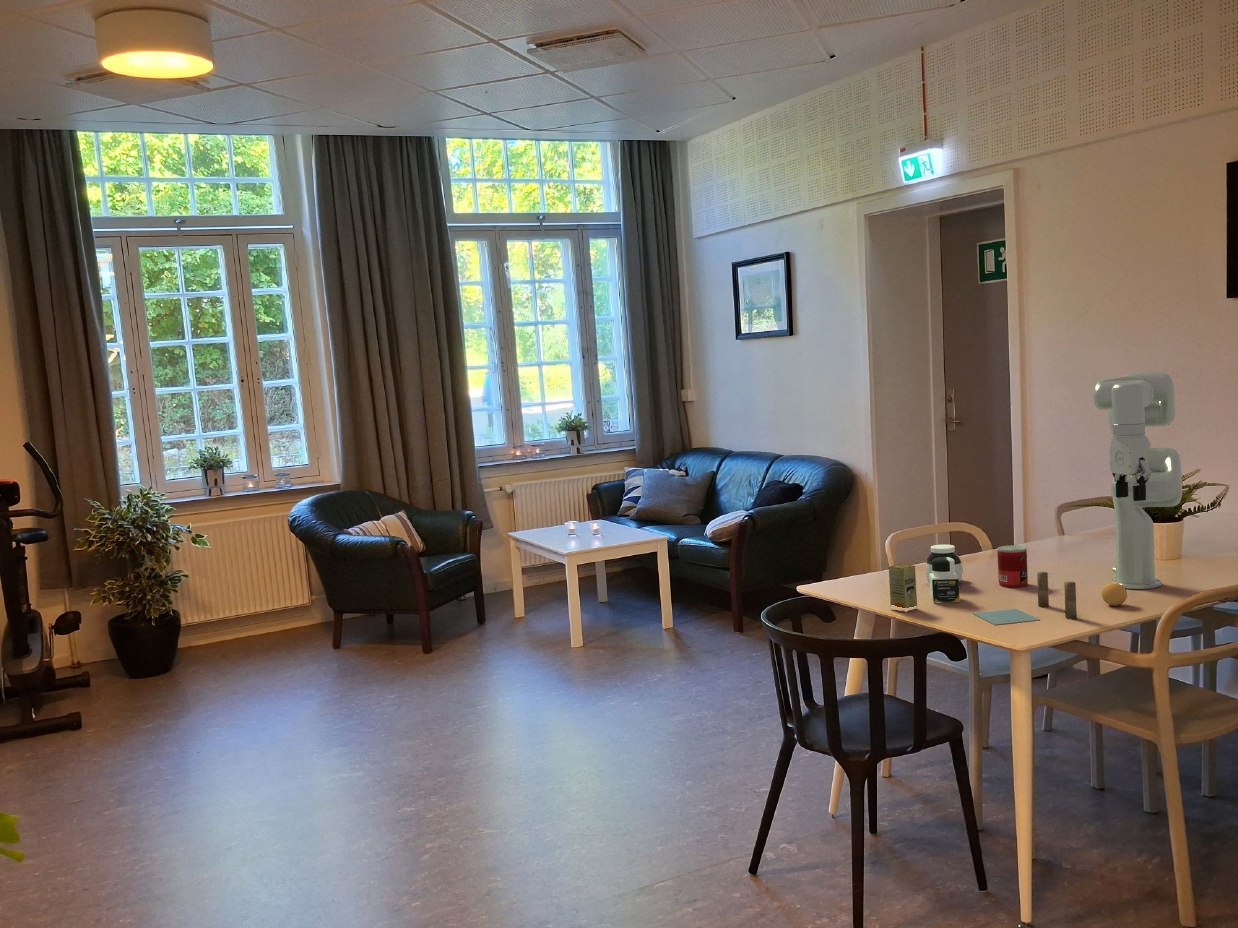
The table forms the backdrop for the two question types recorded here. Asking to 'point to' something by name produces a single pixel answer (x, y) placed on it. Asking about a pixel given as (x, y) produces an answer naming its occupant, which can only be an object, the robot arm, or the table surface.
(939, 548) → the spread jar
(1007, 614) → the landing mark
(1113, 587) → the ball
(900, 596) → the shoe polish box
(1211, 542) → the table surface
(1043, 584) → the post
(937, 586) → the medicine bottle
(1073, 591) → the post
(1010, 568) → the canned food
